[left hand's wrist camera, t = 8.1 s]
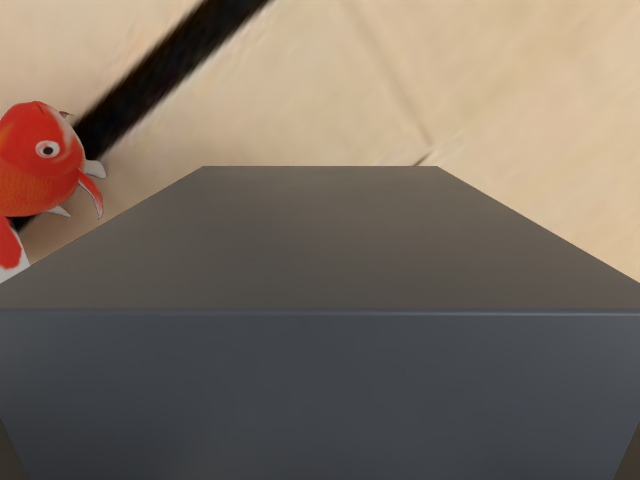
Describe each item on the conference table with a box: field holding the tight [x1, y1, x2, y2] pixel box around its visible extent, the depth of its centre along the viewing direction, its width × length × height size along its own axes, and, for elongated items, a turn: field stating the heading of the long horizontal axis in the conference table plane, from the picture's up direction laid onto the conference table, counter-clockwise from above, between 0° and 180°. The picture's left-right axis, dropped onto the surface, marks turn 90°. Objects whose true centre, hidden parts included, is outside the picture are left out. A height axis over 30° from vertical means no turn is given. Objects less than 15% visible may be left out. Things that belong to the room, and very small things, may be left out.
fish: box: [0, 101, 106, 283], centre depth 22 cm, size 11×16×10 cm
